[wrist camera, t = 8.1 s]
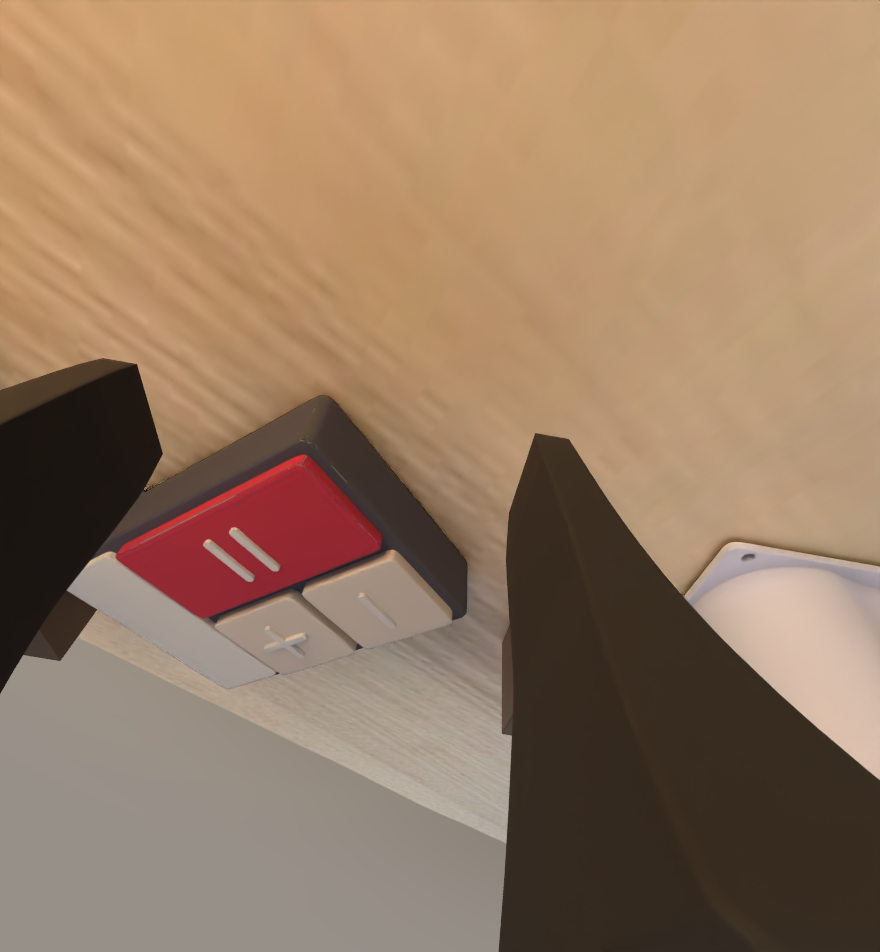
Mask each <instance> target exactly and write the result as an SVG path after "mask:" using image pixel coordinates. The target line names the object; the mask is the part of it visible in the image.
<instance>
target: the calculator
mask: <svg viewBox="0 0 880 952" xmlns="http://www.w3.org/2000/svg"><path fill="white" fill-rule="evenodd" d="M67 591H68V592H70V593H72V594H73V595H75V596H76V597H78V598H80V599H81V600H83V601H84V602H86V603H88V604H89V605H91V606H92V607H94V608H96V609H97V610H99V611H100V612H102V613H104V614H105V615H107V616H108V617H110V618H112V619H113V620H115V621H117V622H118V623H120V624H121V625H123V626H125V627H126V628H128V629H129V630H131V631H133V632H134V633H136V634H137V635H139V636H141V637H142V638H144V639H145V640H147V641H149V642H150V643H152V644H153V645H155V646H157V647H158V648H160V649H161V650H163V651H165V652H166V653H168V654H169V655H171V656H173V657H174V658H176V659H177V660H179V661H181V662H182V663H184V664H186V665H187V666H189V667H190V668H192V669H194V670H195V671H197V672H198V673H200V674H202V675H203V676H205V677H206V678H208V679H210V680H211V681H213V682H214V683H216V684H218V685H219V686H221V687H223V688H225V689H232V688H235V687H238V686H242V685H245V684H248V683H251V682H255V681H258V680H261V679H264V678H268V677H271V676H273V675H277V674H282V675H286V674H291V673H294V672H297V671H300V670H304V669H307V668H310V667H314V666H317V665H320V664H323V663H327V662H330V661H333V660H336V659H340V658H343V657H346V656H350V655H352V654H354V653H355V651H356V650H358V649H361V648H366V649H372V648H376V647H379V646H382V645H386V644H389V643H392V642H395V641H399V640H402V639H405V638H409V637H412V636H415V635H418V634H422V633H425V632H428V631H431V630H435V629H438V628H441V627H445V626H447V625H450V624H451V623H452V620H455V619H458V618H461V617H463V616H464V615H465V614H466V612H467V562H466V560H465V559H464V558H463V556H462V555H461V554H460V553H459V551H458V550H457V549H456V548H455V547H454V545H453V544H452V543H451V542H450V541H449V539H448V538H447V537H446V536H445V534H444V533H443V532H442V531H441V530H440V528H439V527H438V526H437V525H436V524H435V522H434V521H433V520H432V519H431V517H430V516H429V515H428V514H427V513H426V511H425V510H424V509H423V508H422V507H421V505H420V504H419V503H418V502H417V500H416V499H415V498H414V497H413V496H412V494H411V493H410V492H409V491H408V490H407V488H406V487H405V486H404V485H403V483H402V482H401V481H400V480H399V479H398V477H397V476H396V475H395V474H394V473H393V471H392V470H391V469H390V468H389V466H388V465H387V464H386V463H385V462H384V460H383V459H382V458H381V457H380V456H379V454H378V453H377V452H376V451H375V449H374V448H373V447H372V446H371V445H370V443H369V442H368V441H367V440H366V439H365V437H364V436H363V435H362V434H361V432H360V431H359V430H358V429H357V428H356V426H355V425H354V424H353V423H352V421H351V420H350V419H349V418H348V417H347V415H346V414H345V413H344V412H343V411H342V409H341V408H340V407H339V406H338V404H337V403H336V402H335V401H334V400H333V399H332V398H330V397H328V396H323V395H322V396H318V397H316V398H314V399H312V400H310V401H308V402H306V403H305V404H303V405H301V406H299V407H297V408H296V409H294V410H292V411H290V412H288V413H287V414H285V415H283V416H281V417H279V418H278V419H276V420H274V421H272V422H270V423H269V424H267V425H265V426H263V427H262V428H260V429H258V430H256V431H254V432H253V433H251V434H249V435H247V436H245V437H244V438H242V439H240V440H238V441H236V442H235V443H233V444H231V445H229V446H227V447H226V448H224V449H222V450H220V451H218V452H217V453H215V454H213V455H211V456H210V457H208V458H206V459H204V460H202V461H201V462H199V463H197V464H195V465H193V466H192V467H190V468H188V469H186V470H184V471H183V472H181V473H179V474H177V475H175V476H174V477H172V478H170V479H168V480H167V481H165V482H163V483H161V484H159V485H158V486H156V487H154V488H152V489H150V490H149V491H147V492H144V491H142V493H141V494H140V496H139V498H138V499H137V500H136V502H135V503H134V504H133V506H132V507H131V508H130V510H129V511H128V512H127V514H126V515H125V516H124V518H123V519H122V520H121V522H120V523H119V524H118V525H117V527H116V528H115V529H114V531H113V532H112V533H111V535H110V536H109V537H108V538H107V540H106V541H105V542H104V543H103V545H102V546H101V547H100V549H99V550H98V551H97V552H96V554H95V555H94V556H93V557H92V559H91V560H90V561H89V563H88V564H87V565H86V566H85V568H84V569H83V570H82V571H81V573H80V574H79V575H78V577H77V578H76V579H75V580H74V582H73V583H72V584H71V585H70V587H69V588H68V589H67Z"/></svg>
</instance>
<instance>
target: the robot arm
mask: <svg viewBox="0 0 880 952" xmlns="http://www.w3.org/2000/svg"><path fill="white" fill-rule="evenodd" d="M162 454H163V453H162V449H161V446H160V442H159V439H158V435H157V432H156V428H155V425H154V421H153V418H152V415H151V411H150V408H149V404H148V401H147V397H146V394H145V390H144V387H143V384H142V380H141V377H140V373H139V370H138V366H137V364H133V363H127V362H121V361H115V360H110V359H104V358H102V359H98V360H94V361H89V362H86V363H82V364H78V365H75V366H72V367H68V368H65V369H62V370H59V371H56V372H53V373H50V374H47V375H44V376H41V377H38V378H35V379H32V380H29V381H26V382H23V383H20V384H18V385H15V386H12V387H9V388H6V389H3V390H0V693H1V691H2V690H3V688H4V686H5V684H6V683H7V681H8V679H9V678H10V676H11V674H12V672H13V671H14V669H15V667H16V666H17V664H18V663H19V661H20V659H21V658H22V656H23V655H24V653H25V651H26V650H27V648H28V647H29V645H30V643H31V642H32V640H33V639H34V637H35V635H36V634H37V632H38V631H39V629H40V627H41V626H42V624H43V622H44V621H45V619H46V618H47V617H48V615H49V614H50V612H51V611H52V610H53V608H54V607H55V605H56V604H57V603H58V601H59V600H60V598H61V597H62V596H63V594H64V593H65V592H66V591H67V589H68V588H69V587H70V585H71V584H72V583H73V582H74V580H75V579H76V578H77V577H78V575H79V574H80V573H81V571H82V570H83V569H84V568H85V566H86V565H87V564H88V563H89V561H90V560H91V559H92V557H93V556H94V555H95V554H96V552H97V551H98V550H99V549H100V547H101V546H102V545H103V543H104V542H105V541H106V540H107V538H108V537H109V536H110V535H111V533H112V532H113V531H114V529H115V528H116V527H117V525H118V524H119V523H120V522H121V520H122V519H123V518H124V516H125V515H126V514H127V512H128V511H129V510H130V508H131V507H132V506H133V504H134V503H135V502H136V500H137V499H138V498H139V496H140V494H141V493H142V491H143V489H144V487H145V486H146V484H147V482H148V481H149V479H150V477H151V475H152V473H153V471H154V469H155V468H156V466H157V464H158V462H159V460H160V458H161V456H162ZM506 567H507V585H508V602H509V618H510V633H511V649H512V665H513V721H512V750H511V771H510V792H509V812H508V828H507V844H506V860H505V861H506V862H505V876H504V877H505V878H504V890H503V903H502V916H501V929H500V943H499V952H880V566H874V565H868V564H862V563H857V562H851V561H845V560H840V559H834V558H828V557H823V556H817V555H811V554H806V553H800V552H794V551H788V550H783V549H777V548H771V547H766V546H760V545H754V544H749V543H743V542H731V543H728V544H726V545H725V546H724V547H723V548H722V549H721V550H720V552H719V553H718V554H717V555H716V557H715V558H714V559H713V560H712V562H711V563H710V564H709V565H708V567H707V568H706V569H705V570H704V572H703V573H702V574H701V575H700V577H699V578H698V579H697V580H696V582H695V583H694V584H693V585H692V587H691V588H690V589H689V591H688V592H687V593H686V594H685V596H684V597H683V596H682V595H681V594H680V593H679V591H678V590H677V589H676V588H675V587H674V586H673V584H672V583H671V582H670V581H669V580H668V579H667V577H666V576H665V575H664V574H663V573H662V571H661V570H660V569H659V568H658V566H657V565H656V564H655V563H654V561H653V560H652V559H651V557H650V556H649V555H648V554H647V552H646V551H645V550H644V549H643V547H642V546H641V545H640V544H639V542H638V541H637V540H636V538H635V537H634V536H633V534H632V533H631V532H630V530H629V529H628V528H627V526H626V525H625V523H624V522H623V521H622V519H621V518H620V516H619V515H618V513H617V512H616V511H615V509H614V508H613V506H612V505H611V503H610V502H609V501H608V499H607V498H606V496H605V495H604V493H603V492H602V490H601V489H600V487H599V485H598V484H597V482H596V481H595V479H594V478H593V476H592V475H591V473H590V472H589V470H588V468H587V467H586V465H585V464H584V462H583V461H582V459H581V457H580V456H579V454H578V453H577V451H576V450H575V448H574V447H573V445H572V443H571V442H570V440H569V439H565V438H559V437H554V436H548V435H542V434H536V433H535V436H534V439H533V442H532V445H531V448H530V451H529V454H528V457H527V460H526V463H525V466H524V469H523V472H522V475H521V478H520V481H519V484H518V487H517V490H516V493H515V496H514V499H513V502H512V505H511V509H510V512H509V521H508V536H507V553H506Z"/></svg>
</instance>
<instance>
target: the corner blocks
mask: <svg viewBox="0 0 880 952" xmlns="http://www.w3.org/2000/svg"><path fill="white" fill-rule="evenodd" d="M96 611H97V609H96V608H94V607H92V606H91V605H89V604H88V603H86V602H84V601H83V600H81V599H80V598H78V597H76V596H75V595H73V594H72V593H70V592H68V591H66V592H65V593H64V594H63V596H62V597H61V598H60V600H59V601H58V603H57V604H56V605H55V607H54V608H53V610H52V611H51V612H50V614H49V615H48V617H47V618H46V619H45V621H44V622H43V624H42V626H41V627H40V629H39V631H38V632H37V634H36V635H35V637H34V639H33V640H32V642H31V643H30V645H29V647H28V648H27V650H26V651H25V653H24V655H28V656H33V657H39V658H46V659H51V660H58V661H60V660H61V659H62V658H63V656H64V655H65V654H66V652H67V651H68V649H69V648H70V647H71V645H72V644H73V643H74V641H75V640H76V638H77V637H78V636H79V634H80V633H81V631H82V630H83V629H84V627H85V626H86V625H87V623H88V622H89V620H90V619H91V618H92V616H93V615H94V613H95V612H96ZM512 721H513V665H512V649H511V633H510V626H509V629H508V631H507V633H506V636H505V638H504V640H503V643H502V734H506V735H512Z"/></svg>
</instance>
